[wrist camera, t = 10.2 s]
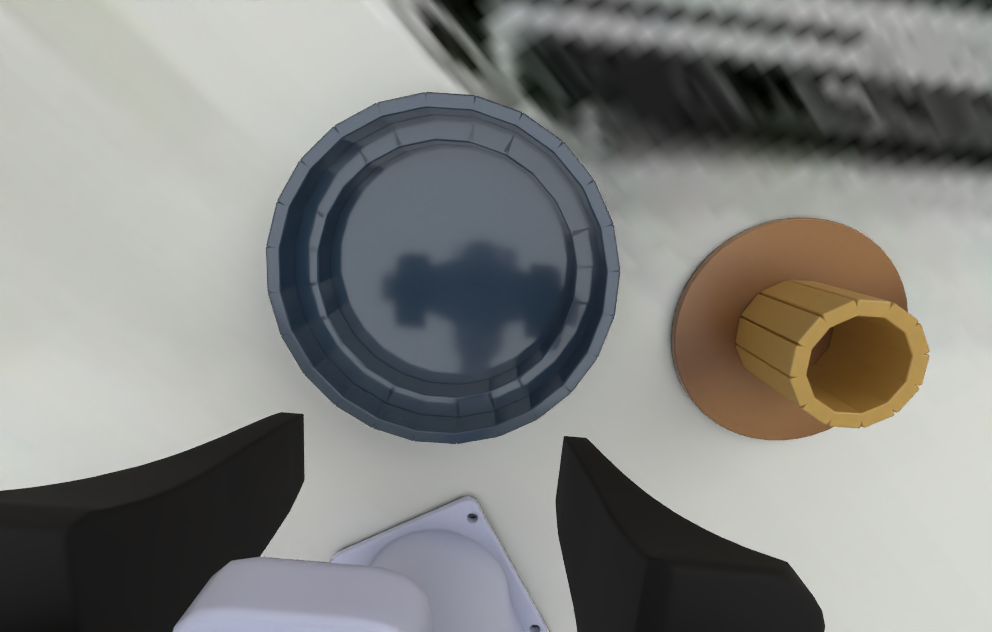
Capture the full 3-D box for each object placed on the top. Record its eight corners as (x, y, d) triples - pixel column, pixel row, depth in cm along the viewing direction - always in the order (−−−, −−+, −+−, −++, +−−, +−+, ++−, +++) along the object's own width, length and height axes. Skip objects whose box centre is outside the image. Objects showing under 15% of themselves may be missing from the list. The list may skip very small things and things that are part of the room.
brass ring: (859, 357, 22) (944, 395, 18) (757, 401, 23) (816, 448, 18) (825, 261, 21) (907, 276, 17) (720, 309, 22) (772, 336, 18)
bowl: (647, 335, 23) (672, 359, 19) (392, 451, 24) (374, 492, 21) (521, 51, 20) (525, 21, 17) (246, 199, 22) (197, 199, 18)
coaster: (926, 381, 23) (936, 385, 22) (717, 468, 24) (722, 473, 24) (860, 175, 21) (868, 175, 21) (636, 280, 22) (638, 282, 22)
